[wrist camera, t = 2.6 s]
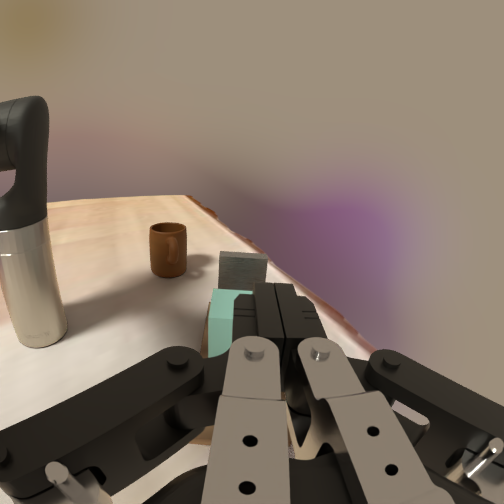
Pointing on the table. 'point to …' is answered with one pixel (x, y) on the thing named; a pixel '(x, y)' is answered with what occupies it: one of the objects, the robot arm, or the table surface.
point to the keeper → (221, 320)
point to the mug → (168, 249)
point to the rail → (241, 270)
